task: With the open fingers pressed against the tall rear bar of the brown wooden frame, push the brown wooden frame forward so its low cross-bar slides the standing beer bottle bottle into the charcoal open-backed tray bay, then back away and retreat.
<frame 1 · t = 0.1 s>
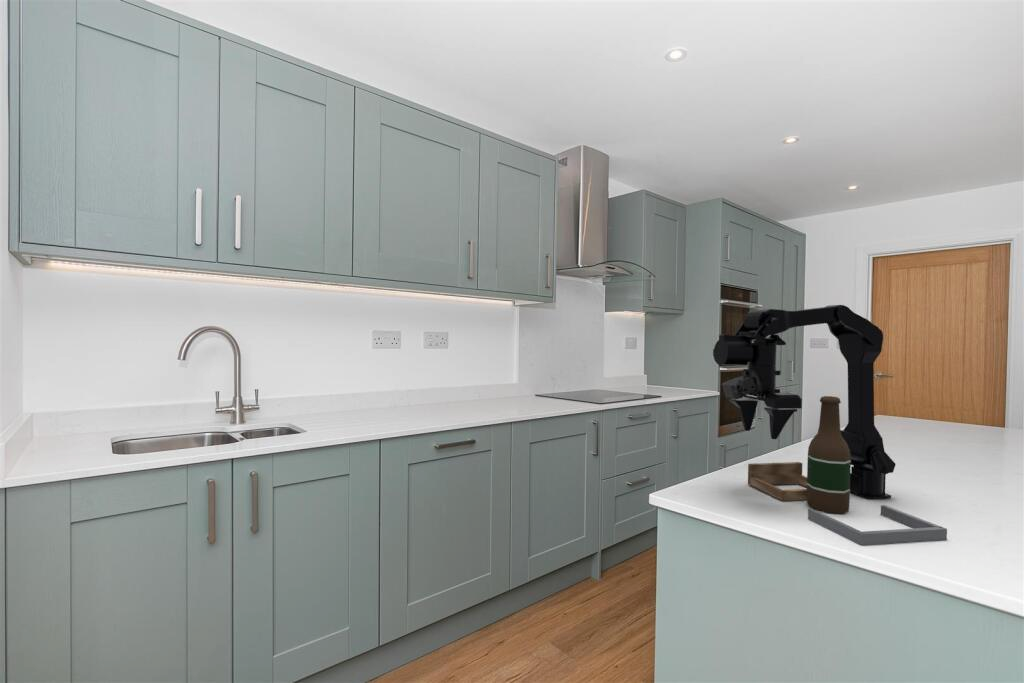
hand: (760, 434, 111), 15 cm above the worktop, fingers open, 9 cm apart
tray bay: (872, 528, 95), on the worktop
brown wooden frame: (790, 480, 117), point 3 cm above the worktop, slide at 0.0 cm
beer bottle: (827, 509, 106), on the worktop
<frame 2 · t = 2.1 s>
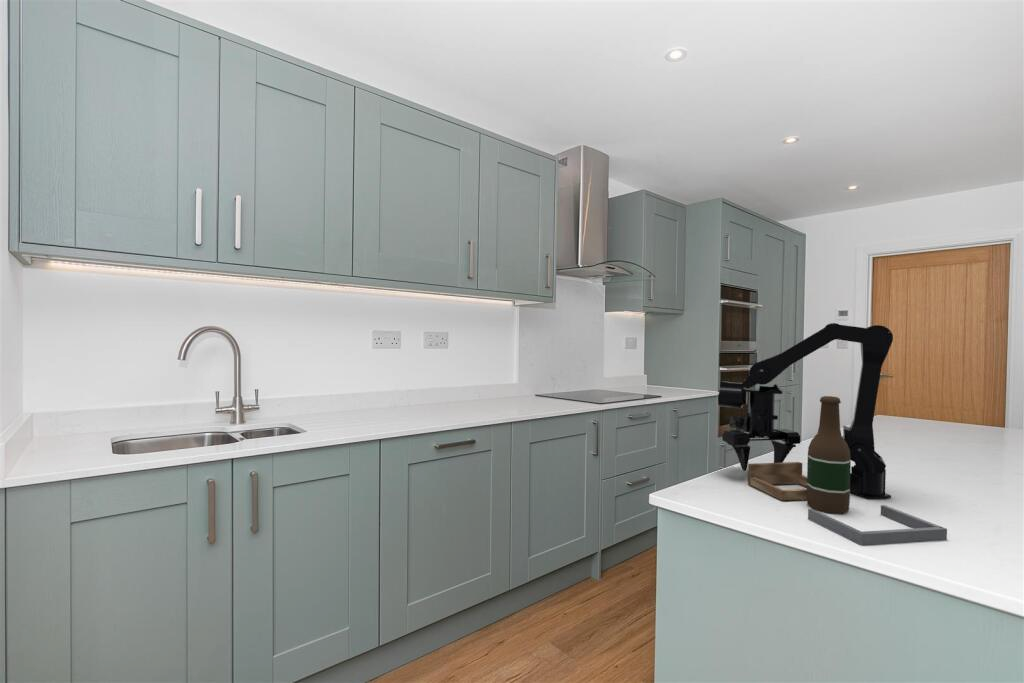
hand: (760, 470, 128), 2 cm above the worktop, fingers open, 9 cm apart
nothing on the worktop moved.
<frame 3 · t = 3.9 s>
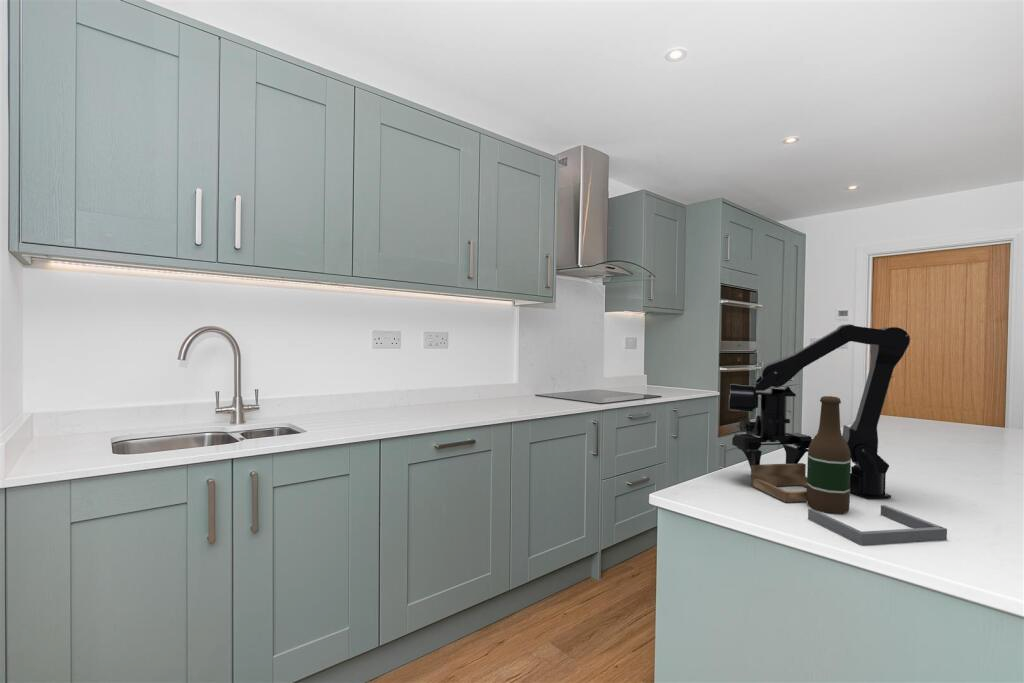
hand: (771, 475, 124), 2 cm above the worktop, fingers open, 9 cm apart
brown wooden frame: (794, 481, 116), point 3 cm above the worktop, slide at 1.1 cm, touching gripper
everything else where it was.
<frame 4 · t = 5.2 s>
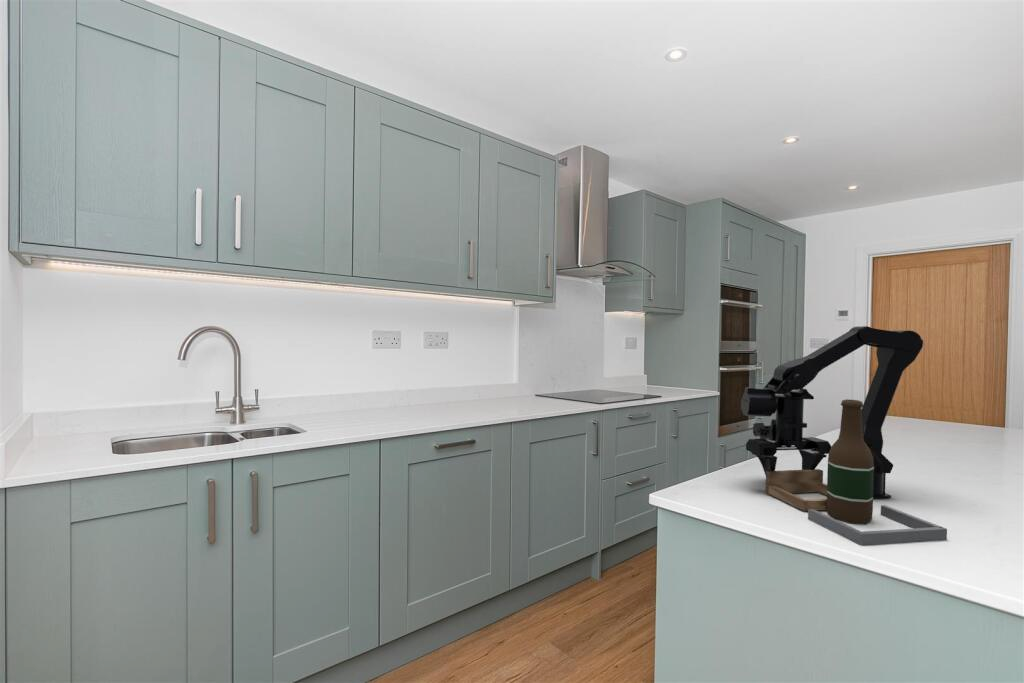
hand: (787, 481, 118), 2 cm above the worktop, fingers open, 9 cm apart
brown wooden frame: (812, 488, 111), point 3 cm above the worktop, slide at 6.6 cm, touching gripper, beer bottle
beer bottle: (848, 518, 101), on the worktop, touching brown wooden frame
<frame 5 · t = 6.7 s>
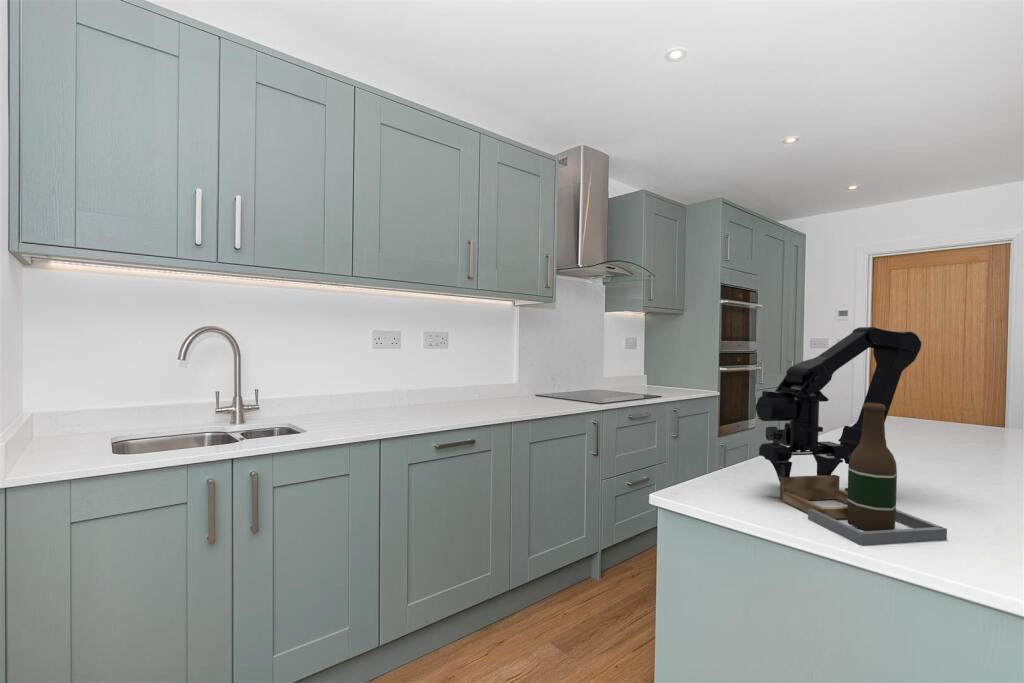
hand: (802, 488, 114), 2 cm above the worktop
brown wooden frame: (828, 495, 106), point 3 cm above the worktop, slide at 11.3 cm, touching gripper, beer bottle
beer bottle: (870, 527, 96), on the worktop, touching brown wooden frame
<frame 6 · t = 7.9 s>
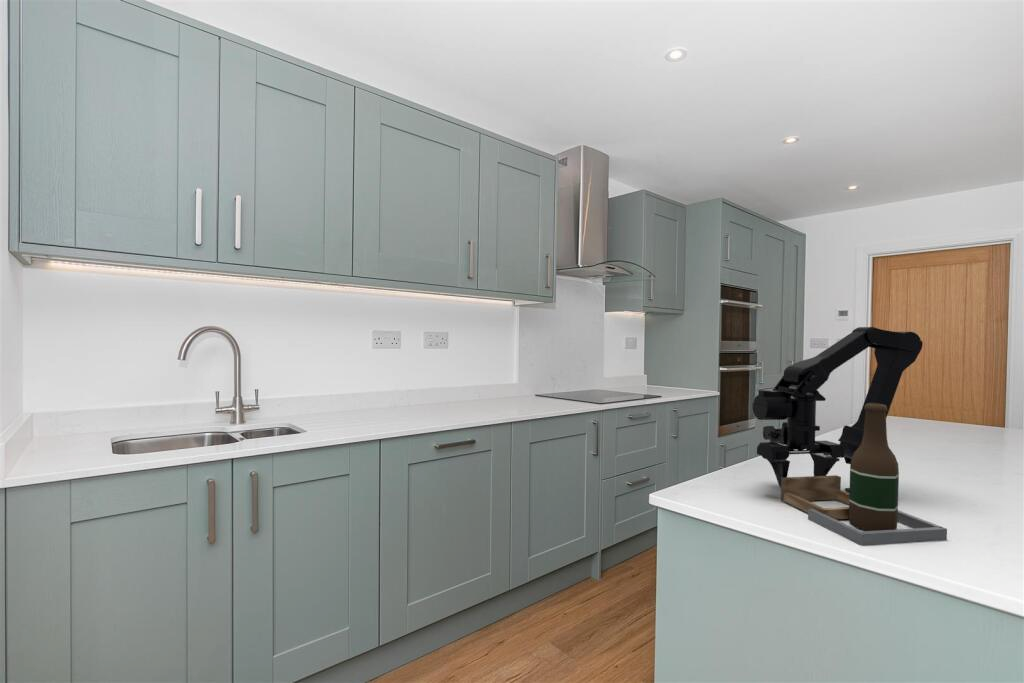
hand: (799, 486, 114), 2 cm above the worktop, fingers open, 9 cm apart
brown wooden frame: (830, 496, 106), point 3 cm above the worktop, slide at 11.7 cm
beer bottle: (872, 528, 96), on the worktop
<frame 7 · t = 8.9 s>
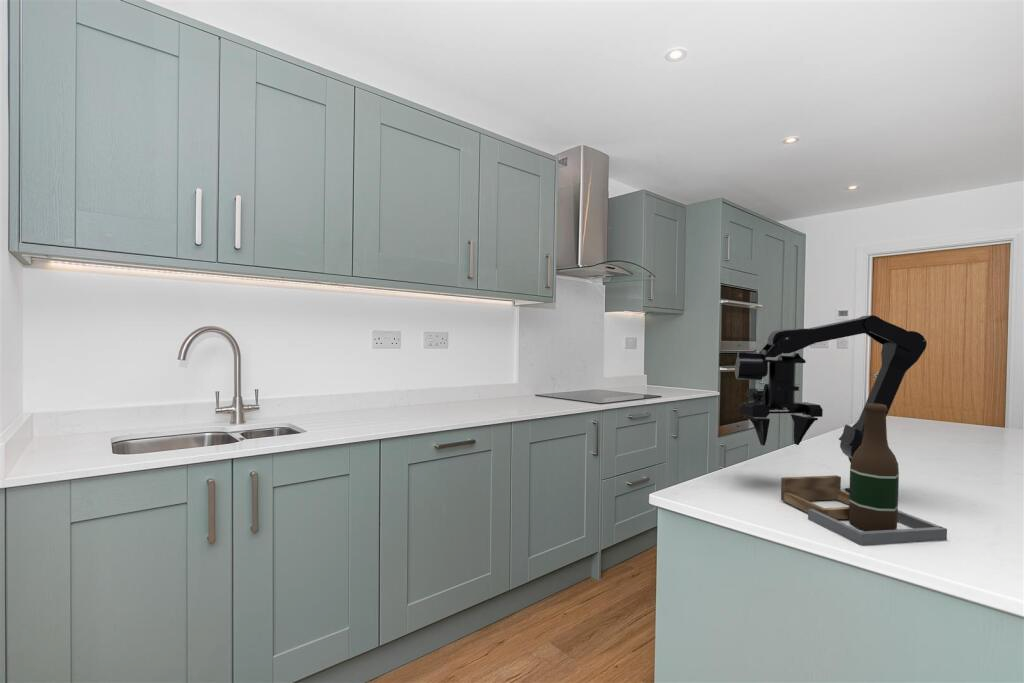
hand: (779, 444, 121), 10 cm above the worktop, fingers open, 9 cm apart
nothing on the worktop moved.
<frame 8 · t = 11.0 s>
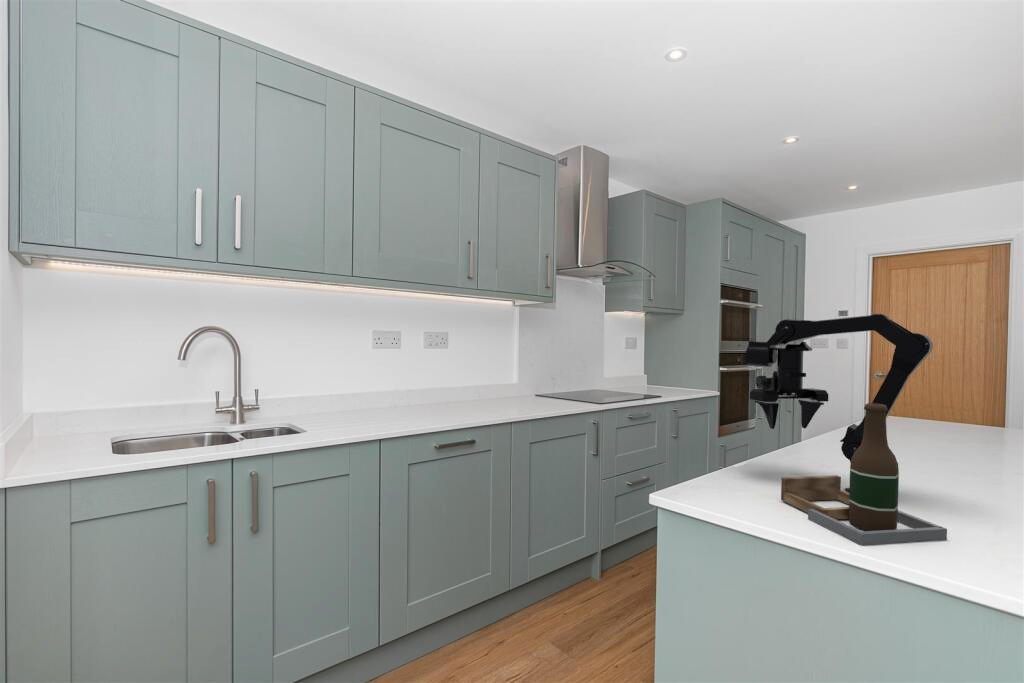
hand: (788, 428, 128), 13 cm above the worktop, fingers open, 9 cm apart
nothing on the worktop moved.
at the end: beer bottle inside the target area (1.1 cm from its centre), on the worktop; beer bottle tilted 0°; beer bottle moved 10.5 cm from its start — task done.
